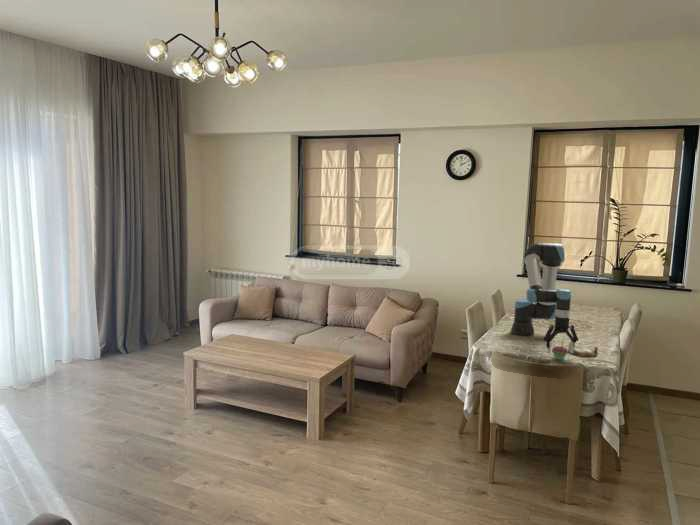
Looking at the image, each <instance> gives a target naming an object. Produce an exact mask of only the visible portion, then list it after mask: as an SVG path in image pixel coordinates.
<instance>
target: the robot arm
mask: <svg viewBox="0 0 700 525" xmlns="http://www.w3.org/2000/svg"><path fill="white" fill-rule="evenodd" d="M565 257H566V256H565V248H564V245H563V244H561V243H550V242H548V243H547V242H546V243H545V242H537V243H533V244H531V245H530V246H529V247H528V248H527V249H526V250H525V252H524V255H523V261H524V264H525V265H526V272H527V279H528V288H527V290H526V295H525V296H526V298H521V299H517V300H515V303H514V318H513V322H512V326H511V328H510V333H511V334H512V333H513V334H512V335H515V334H516V336H520V335H522V337H530V335H532V336H535V329H534V326H533V320H546V321H548V320H550V321H551V320H554V325H552V324H549V327H548V329H547V331H546V334H545V335H544V337H543V338H542V340H543V341H544V342H546V343H545V344H546V345H545V347H546V349H547V350H546V352H547V354H549V355H551V354H552V340H554V338H555V337H556V336H557V335H558V334H566V336H567V337H568V338H569V339H570V340H569V344H570V346H569V345H568V349H569V352H570V353H573V347H576V346H575V345H576V342H579V337H578V335H577V332H576V330H575V326H574V325H573V324H571V323H570V315H571V314H570V311H571V302H572V301H571V298H572V292H571V290H570V289H566V288H565V289H564V288H559V289H556V284H557V276H558V268H559V267H561V264H562V263H563V262H565ZM540 262H541V265H542V266H543V269H542V275H541V268H540ZM569 352H568V353H569ZM570 353H569V354H570Z"/></svg>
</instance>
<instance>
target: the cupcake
mask: <svg viewBox="0 0 700 525" xmlns="http://www.w3.org/2000/svg"><path fill="white" fill-rule="evenodd" d="M564 340H565V339H564V338H563V339H562V340H561V346H560V345H557V346H553V347H552V348H551V353H552V354H553V356H554V358H555V359H556V360H560V361H564V359H565V358H566V356H567V354H569V352H568V349H567V347H566V348H565V347H564Z"/></svg>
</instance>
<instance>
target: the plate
mask: <svg viewBox="0 0 700 525" xmlns="http://www.w3.org/2000/svg"><path fill="white" fill-rule="evenodd" d="M569 346H570V343H569V344H568V347H569ZM598 348H599V347H598V346H594V349H593V348H589V347H583V346H575V347H573V353H570V352H569V348H568V349H567V350H568V354H571V355H573V356H577V357H581V358H582V357H583V358H595V357H597V356H598Z"/></svg>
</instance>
